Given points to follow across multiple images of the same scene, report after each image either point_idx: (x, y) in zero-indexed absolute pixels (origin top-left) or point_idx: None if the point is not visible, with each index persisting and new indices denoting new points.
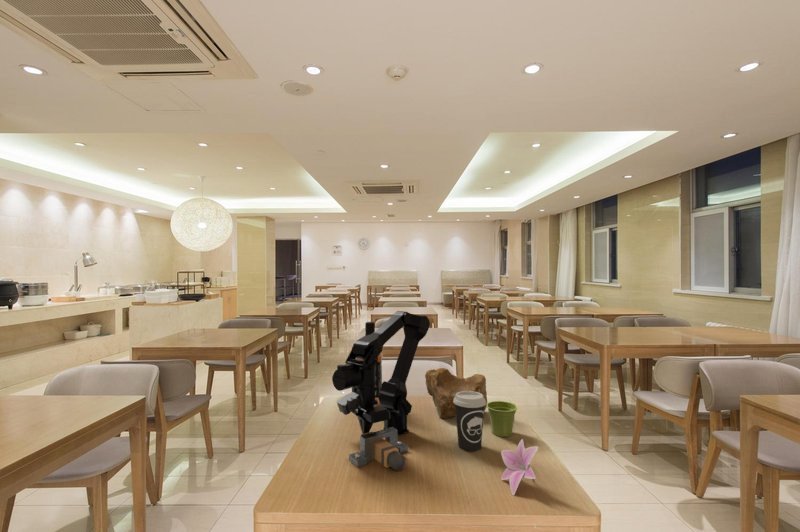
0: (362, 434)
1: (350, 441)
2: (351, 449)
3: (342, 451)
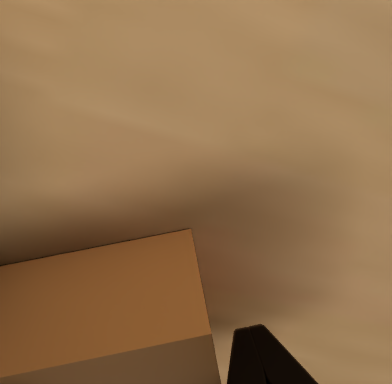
0: (202, 348)
1: (374, 176)
2: (199, 137)
3: (196, 22)
